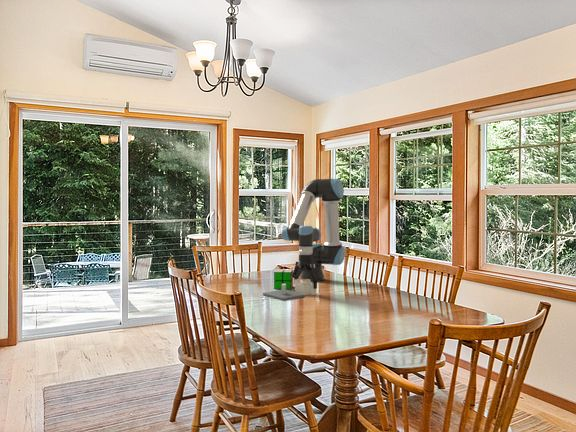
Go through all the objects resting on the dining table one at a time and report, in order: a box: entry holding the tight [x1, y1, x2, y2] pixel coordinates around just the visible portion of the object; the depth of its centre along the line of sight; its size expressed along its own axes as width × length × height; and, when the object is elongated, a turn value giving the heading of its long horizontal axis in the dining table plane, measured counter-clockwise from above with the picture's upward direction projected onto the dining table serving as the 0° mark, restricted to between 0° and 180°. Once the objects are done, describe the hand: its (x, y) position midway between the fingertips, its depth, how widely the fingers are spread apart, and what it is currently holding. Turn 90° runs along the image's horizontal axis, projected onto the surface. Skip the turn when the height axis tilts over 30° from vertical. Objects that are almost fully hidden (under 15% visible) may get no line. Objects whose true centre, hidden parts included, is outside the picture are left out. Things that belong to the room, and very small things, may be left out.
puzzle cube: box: [273, 268, 294, 290], centre depth 268 cm, size 10×10×10 cm
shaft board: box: [262, 284, 306, 301], centre depth 244 cm, size 15×17×6 cm
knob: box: [296, 278, 312, 296], centre depth 251 cm, size 8×6×8 cm
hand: (305, 292), depth 251 cm, fingers open, 13 cm apart
